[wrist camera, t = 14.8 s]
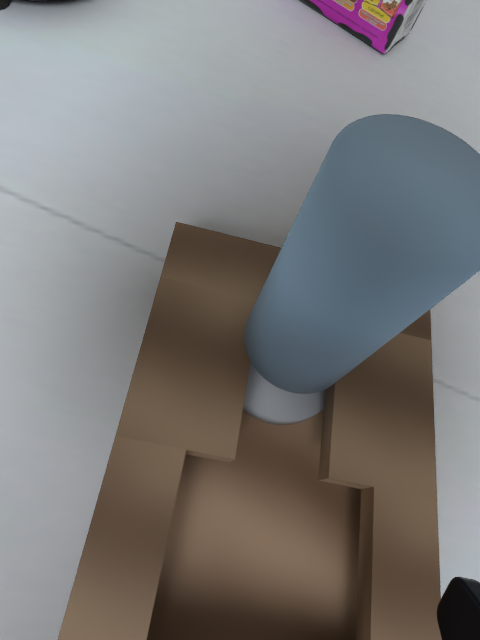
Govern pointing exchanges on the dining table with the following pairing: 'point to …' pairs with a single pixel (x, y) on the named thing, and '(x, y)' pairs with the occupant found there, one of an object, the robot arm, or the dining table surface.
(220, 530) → the keyhole board
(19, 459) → the dining table surface
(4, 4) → the mint green blender
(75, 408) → the dining table surface
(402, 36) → the candy bar box
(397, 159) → the keyhole stud
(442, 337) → the dining table surface
